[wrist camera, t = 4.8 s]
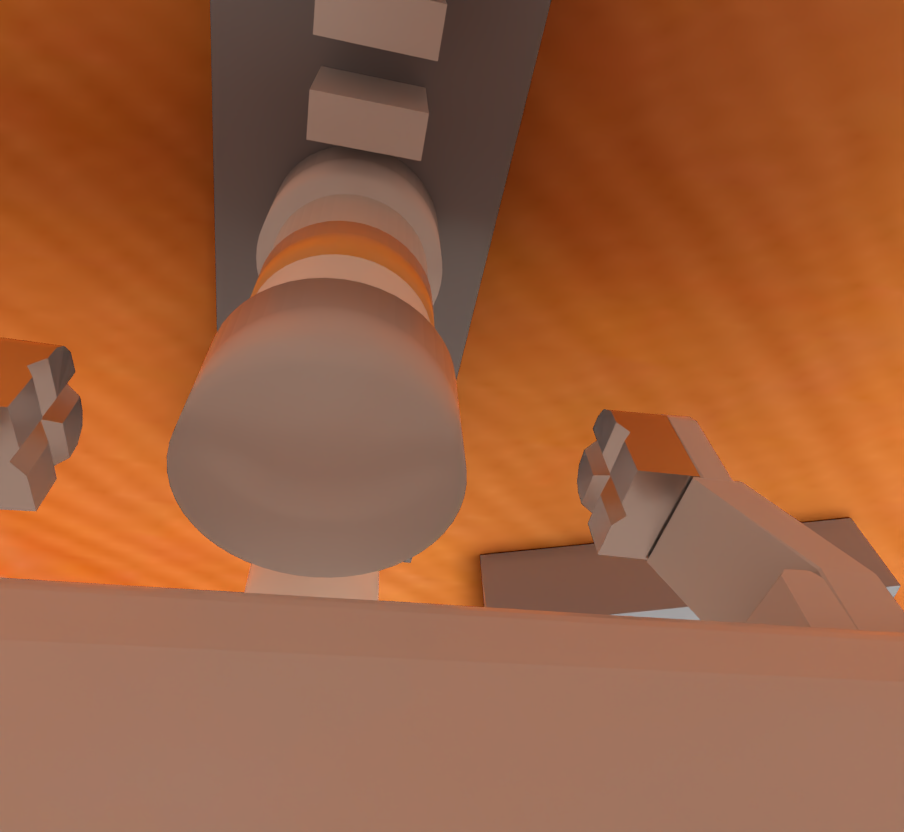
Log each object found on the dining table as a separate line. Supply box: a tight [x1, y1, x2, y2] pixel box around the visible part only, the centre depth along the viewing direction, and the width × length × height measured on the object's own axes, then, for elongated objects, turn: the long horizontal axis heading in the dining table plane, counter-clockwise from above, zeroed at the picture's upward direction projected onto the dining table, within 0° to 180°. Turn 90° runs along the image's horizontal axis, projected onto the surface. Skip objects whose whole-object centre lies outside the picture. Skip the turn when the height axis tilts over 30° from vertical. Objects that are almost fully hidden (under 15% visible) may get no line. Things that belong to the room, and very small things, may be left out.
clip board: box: [210, 0, 551, 563], centre depth 14 cm, size 22×6×4 cm, turn 168°
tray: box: [480, 518, 901, 620], centre depth 27 cm, size 14×14×3 cm
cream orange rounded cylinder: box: [167, 146, 466, 578], centre depth 11 cm, size 4×4×8 cm
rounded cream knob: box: [244, 563, 379, 600], centre depth 15 cm, size 4×4×8 cm
